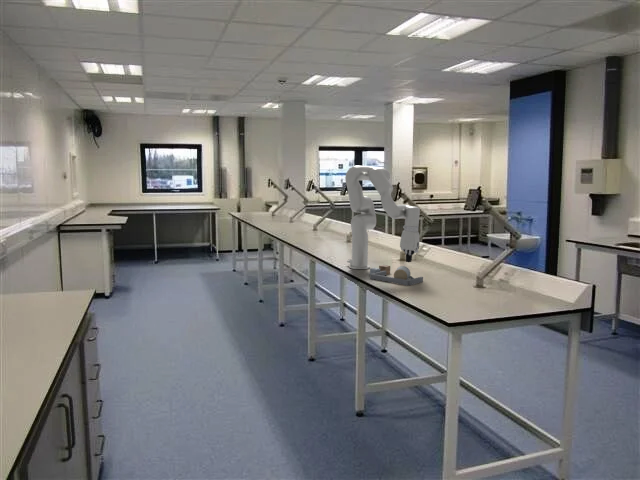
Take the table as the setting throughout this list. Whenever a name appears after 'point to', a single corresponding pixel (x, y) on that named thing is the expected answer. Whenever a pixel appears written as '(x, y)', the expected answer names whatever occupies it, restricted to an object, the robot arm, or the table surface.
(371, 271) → the slate block
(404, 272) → the ceramic mug
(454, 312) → the table surface
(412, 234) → the robot arm
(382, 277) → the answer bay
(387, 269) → the walnut block
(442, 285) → the table surface
